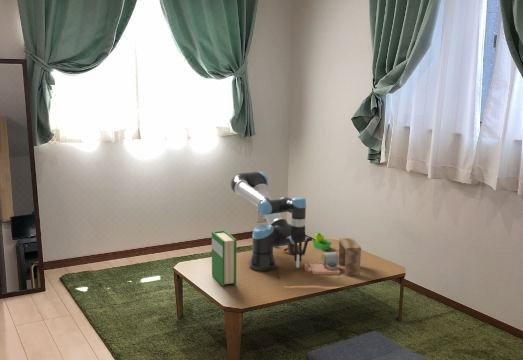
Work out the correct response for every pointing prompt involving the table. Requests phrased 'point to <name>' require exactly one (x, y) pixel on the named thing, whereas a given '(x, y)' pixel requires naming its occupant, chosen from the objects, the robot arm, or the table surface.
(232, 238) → the hardback book
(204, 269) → the table surface
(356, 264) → the shelf
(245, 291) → the table surface
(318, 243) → the fruit basket
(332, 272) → the tray
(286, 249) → the place setting
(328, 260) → the ceramic mug
